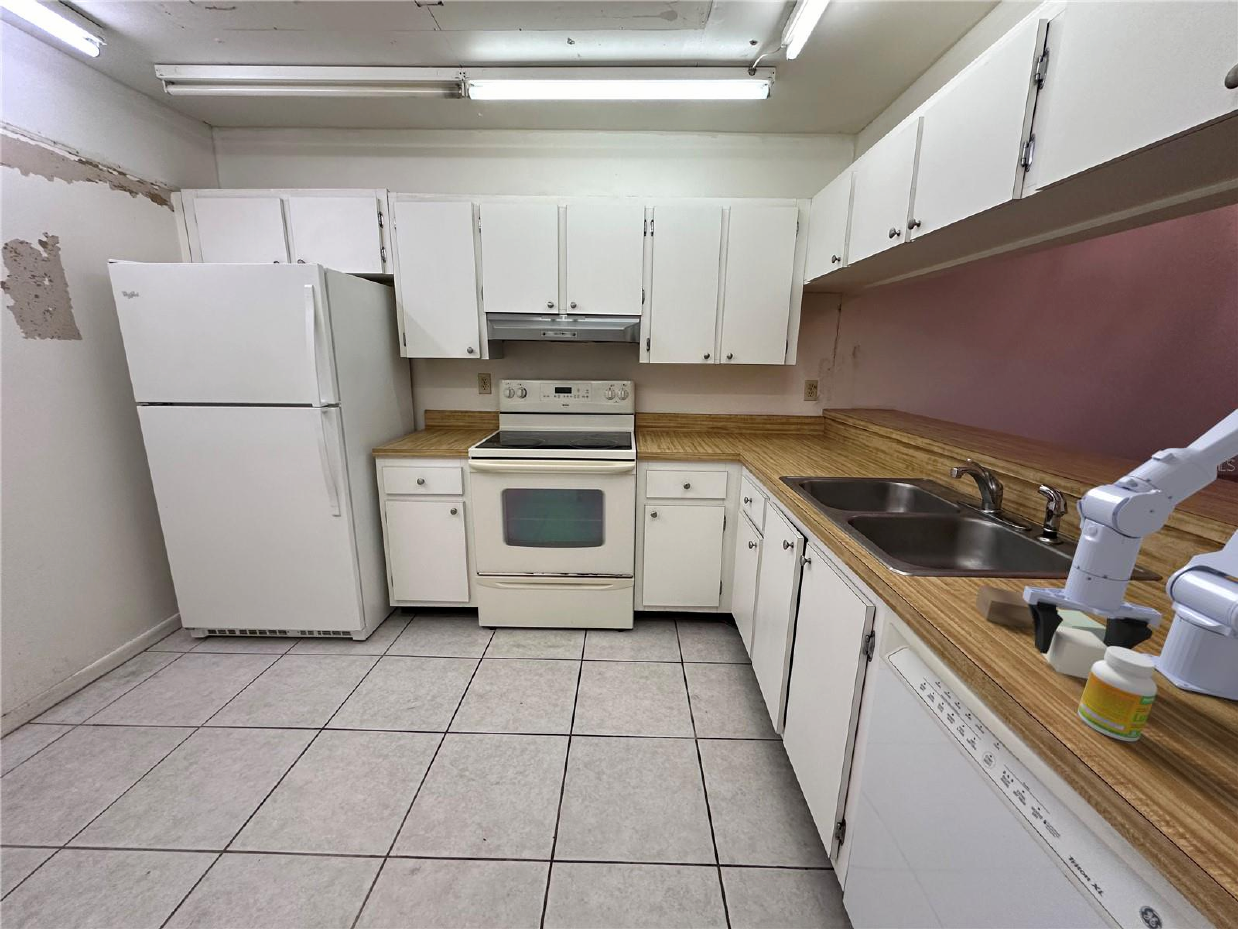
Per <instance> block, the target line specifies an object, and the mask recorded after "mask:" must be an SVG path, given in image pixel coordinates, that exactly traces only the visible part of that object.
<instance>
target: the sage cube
mask: <svg viewBox="0 0 1238 929" xmlns="http://www.w3.org/2000/svg"><path fill="white" fill-rule="evenodd" d="M1056 610H1058V613H1057V614H1059V615H1060V616H1061V617H1062V618H1063V621H1062V622H1061V623H1060V625H1059V626H1063V627H1068V628H1073V629H1079V630H1084V631H1089V632H1092V633H1093V634H1094V635H1095V636H1096V637H1097V638H1098V639H1099V640H1100V641H1102V642H1103V641H1104V637H1105V632H1106V626H1105V625H1103V624H1101V623H1099V622H1097V621H1096V620H1094V619H1093V618H1091V617H1090V616H1088V615H1086V614H1085V613H1084V612H1081V611H1076V610H1070V609H1061V608H1060V609H1059V608H1056Z"/></svg>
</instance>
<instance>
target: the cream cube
mask: <svg viewBox="0 0 1238 929" xmlns="http://www.w3.org/2000/svg"><path fill="white" fill-rule="evenodd" d="M1107 648H1108V647H1107V646H1106V645H1105V644H1104V643H1103V642H1102V641H1100V640H1099V639H1098V638H1097V637H1096V636H1095V635H1094V634H1093V633H1092V632H1089V631H1084V630H1079V629H1073V628H1068V627H1063V626H1058V628H1057V629H1056V631H1055V633H1054V635H1053V638H1052V642H1051V645H1050V648H1049V651H1048V652H1047V654H1043V653H1041V655H1042V656H1043V657H1044V658H1045V659H1046V661H1048V663H1049V664H1050V665H1051V667H1052V668H1053V669H1054V670H1055V671H1056V672H1057V673H1059V674H1064V675H1069V676H1073V677H1078V678H1081V679H1082V678H1083V679H1086V680H1088V678H1089V675H1090V672H1091V669H1092V666H1093V664H1094V663H1095V662H1097V661H1102V660H1105V659H1104V655H1105V653H1106V650H1107Z"/></svg>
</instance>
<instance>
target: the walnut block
mask: <svg viewBox="0 0 1238 929" xmlns="http://www.w3.org/2000/svg"><path fill="white" fill-rule="evenodd" d="M974 603H975V604H974V605H975V606H976V608H977V609H978V610H979V612H980V613H981V615H982V616H983V618H984V619H985V621H988V622H993V623H997V624H1002V623H1003V624H1002V625H1008V626H1012V627H1016V628H1021V629H1027V630H1030V628H1031V625H1032V623H1033V619H1032V615H1031V612H1030V609H1029V606H1028V603H1027V602H1026V601H1025V600H1024V599H1023V593H1022V592H1019V591H1013V590H1010V589H1009V590H1008V589H1004V588H999V587H993V586H987V585H982V584H980V585H979V588H978V591H977V596H976V600H975V602H974Z"/></svg>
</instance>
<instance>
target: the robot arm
mask: <svg viewBox="0 0 1238 929" xmlns="http://www.w3.org/2000/svg"><path fill="white" fill-rule="evenodd" d="M1236 456H1238V408H1237V409H1235V410H1234V411H1233V412H1231V413H1230V414H1229V415H1228V416H1226V417H1225V418H1224V419H1222V420H1221V421H1219V422H1218V423H1217V424H1216V425H1214V426H1213V427H1212V428H1211V429H1209V430H1208V431H1206V432H1205V433H1204V434H1203V435H1201V436H1200V437H1198V439H1196V440H1195V441H1193V442H1192V443H1190V444H1189V445H1188V446H1187V447H1184V448H1182V447H1181V448H1179V447H1176V448H1175V447H1173V448H1166V449H1164V450H1158V451H1157V452H1155V453H1154V454H1152V455H1151V459H1149V460H1148V461H1146V462H1145V463H1143V464H1141V465H1139V466H1138V467H1136V468H1135V469H1134V470H1132V471H1131V472H1129V473H1128V474H1126V475H1124V476H1123V477H1121V478H1119V479H1118V480H1117V481H1116V482H1113V484H1105V485H1099V486H1096V487H1093V488H1092V489H1090V490H1088V491H1087V492H1086V493H1085V494H1084V495H1083V496H1082V498H1081V499H1078V500H1077V502H1076V510H1077V513H1078V515H1079V516H1080V524H1079V528H1080V531H1081V534H1080V536H1079V540H1078V544H1077V548H1076V550H1075V552H1074V553H1075V554H1074V556H1073V558H1072V559H1073V560H1072V563H1071V567H1070V571H1069V572H1068V573H1069V574H1068V577H1067V580H1066V582H1065V585H1064V586H1065V587H1064V588H1051V587H1049V588H1048V587H1035V586H1029V585H1025V586H1024V591H1023V593H1022V595H1023V599H1024V600H1025V601H1026V602H1027V603H1028V606H1029V609H1030V612H1031V615H1032V623H1033V630H1034V647H1035V648H1036V649H1037V650H1038V652H1039V653H1040V654H1042V653H1043V654H1047V652H1048V651H1049V648H1050V645H1051V642H1052V638H1053V635H1054V633H1055V631H1056V629H1057V628H1058V626H1059V625H1060V623H1061V622H1062V621H1063V618H1062V617H1061V616H1060V615H1059V614H1057V613H1058V610H1056V609H1057V608H1058V609H1059V608H1060V609H1064V610H1072V611H1080V612H1081V613H1087V614H1093V615H1095V616H1097V617H1100V618H1105V619H1106V626H1105V627H1106V632H1105V637H1104V641H1103V643H1104V644H1105V645H1106V646H1107V647H1110V646H1117V647H1122V648H1126V649H1129V650H1132V649H1134V648H1135V647H1137V646H1138V645H1139V644H1142V643H1143V642H1145V641H1147V640H1149V639H1151V638H1152V636H1153V633H1154V632H1153V630H1152V629H1150V628H1149V627H1151V628H1159V626H1160V625H1161V622H1162V618H1163V616H1164V615H1163V614H1161V613H1160V612H1159V611H1157V610H1156V609H1154V608H1153V607H1147V606H1143V605H1139V604H1135V603H1131V602H1127V601H1123V600H1124V597H1125V594H1126V591H1127V588H1128V586H1129V582H1130V579H1131V577H1132V574H1133V570H1134V567H1135V564H1136V562H1137V558H1138V555H1139V553H1140V550H1141V546H1142V543H1143V541H1144V537H1146V536H1150V535H1151V534H1154V533H1156V532H1158V531H1160V530H1161V529H1162V528H1163V527H1164V525H1165V524H1166V523H1167V520H1168V518H1169V515H1170V514H1172V513H1173V512H1174V509H1176V505H1177V504H1179V503H1182V501H1185V499H1187V498H1189V497H1190V496H1192V495H1193V494H1196V493H1197V492H1198V491H1200V490H1202V489H1203V488H1205V487H1206V486H1208V485H1209V484H1211V483H1213V482H1214V481H1215V480H1217V477H1218V469H1217V468H1218V466H1219V465H1221V464H1223V463H1225V462H1226V461H1229V460H1231V459H1232V458H1234V457H1236ZM1229 576H1230V577H1233V578H1236V579H1238V528H1237V529H1236V530H1235V532H1234V533H1233V534H1232V536H1231V538H1230V539H1229V540H1228V542H1227V543H1226V544H1225V545H1224V547H1223V548H1222V549H1221V550H1219V551H1215V552H1208V553H1202V554H1197V555H1194V556H1193V557H1192V558H1191V559H1190V561H1189V562H1188V563H1187V564H1186V565H1185V566H1183V567H1182V568H1180V569H1179V570H1176V571H1175V572H1174V573H1173V574H1172V575H1171V576H1170V577H1169V578H1168V581H1167V582H1166V586H1165V591H1166V592H1165V593H1166V595H1167V597H1168V598H1169V600H1170V601H1172V602H1173V603H1172V605H1171V609H1172V610H1174V611H1175V613H1174V618H1173V620H1172V622H1171V626H1170V628H1169V631H1168V633H1167V636H1166V639H1165V642H1164V644H1163V647H1162V650H1161V652H1160V655H1153V654H1149V653H1141V654H1142V655H1144V656H1146V657H1148V658H1149V659H1151V660H1152V661H1153V662H1154V663H1155V665H1156V667H1155V669H1156V670H1157V671H1158V672H1159V673H1160V674H1161V675H1163V676H1164V677H1165V678H1166V679H1168V680H1169V681H1170V682H1171V683H1172V684H1173V685H1175V686H1176V687H1177V688H1178V689H1179V688H1180V689H1183V690H1188V691H1190V692H1191V691H1193V692H1197V693H1200V694H1204V695H1205V694H1206V695H1211V696H1214V697H1215V696H1216V697H1218V698H1219V697H1220V698H1223V699H1224V698H1225V699H1229V700H1233V701H1238V580H1237V581H1236V580H1234V579H1232V578H1229Z"/></svg>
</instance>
